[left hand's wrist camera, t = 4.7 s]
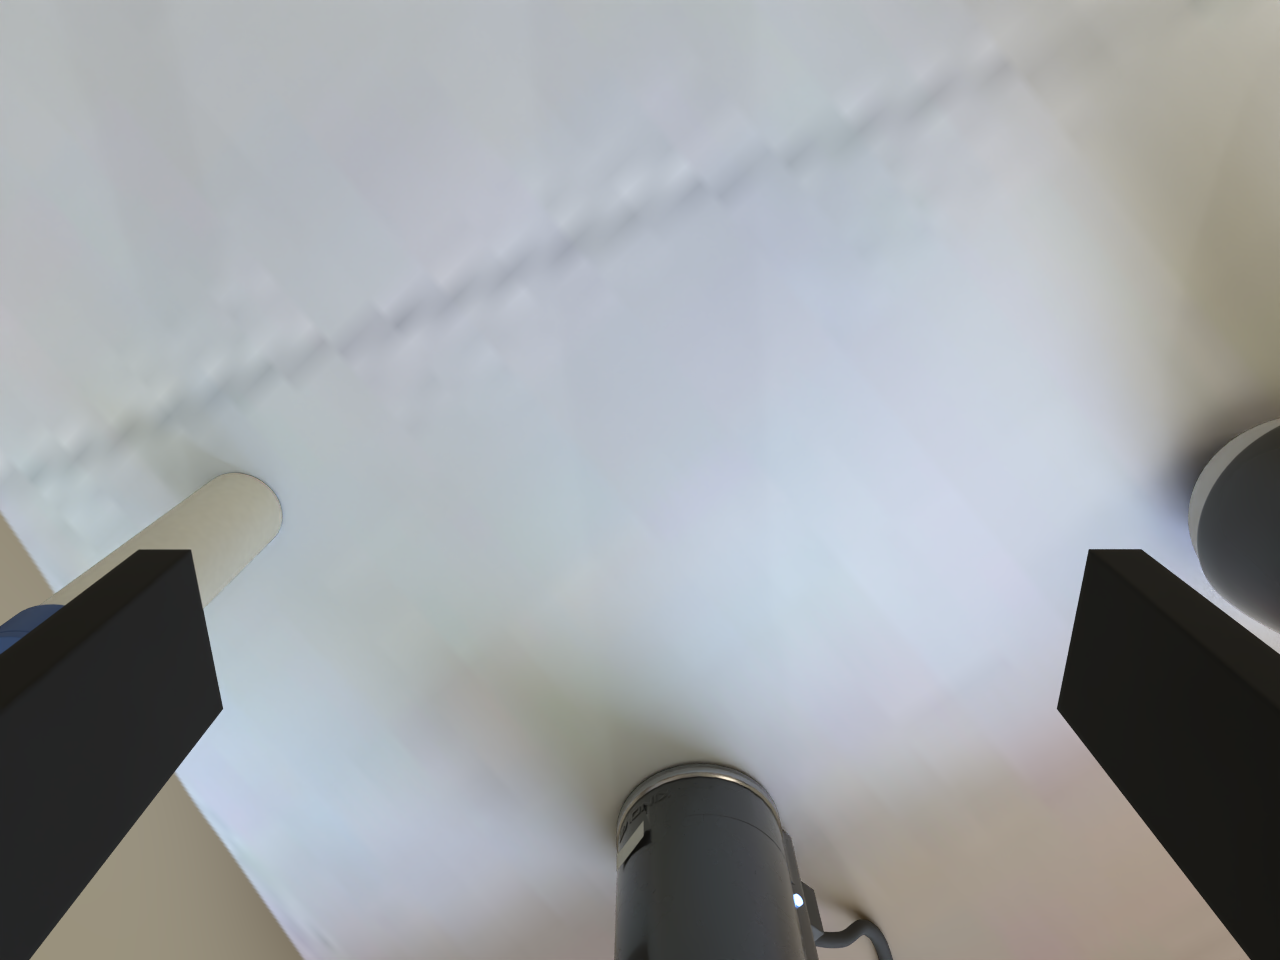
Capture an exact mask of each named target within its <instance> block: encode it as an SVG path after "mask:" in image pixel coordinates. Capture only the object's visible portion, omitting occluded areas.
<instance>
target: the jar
mask: <svg viewBox="0 0 1280 960" xmlns="http://www.w3.org/2000/svg"><path fill="white" fill-rule="evenodd" d="M281 524H282V510H281V506H280V503H279V501H278V499H277V497H276V495H275V494H274V492H273V491H272V490H271V489H270V488H269V487H268V486H267V485H266V484H265V483H263V482H262V481H260V480H259V479H257V478H255V477H252V476H249V475H246V474H241V473H228V474H223V475H220V476H218V477H216V478H214V479H213V480H211V481H210V482H208V483H207V484H206V485H204V486H203V487H202V488H200V489H199V490H197V491H196V492H195V493H193V494H192V495H190V496H189V497H188V498H186V499H185V500H184V501H182V502H181V503H179V504H178V505H177V506H175V507H174V508H173V509H171V510H170V511H168V512H167V513H166V514H164V515H163V516H162V517H160V518H159V519H157V520H156V521H155V522H153V523H152V524H151V525H149V526H148V527H146V528H145V529H144V530H142V531H141V532H140V533H138V534H137V535H135V536H134V537H133V538H131V539H130V540H129V541H127V542H126V543H124V544H123V545H122V546H120V547H119V548H117V549H116V550H115V551H113V552H112V553H111V554H109V555H108V556H106V557H105V558H104V559H102V560H101V561H100V562H98V563H97V564H95V565H94V566H93V567H91V568H90V569H89V570H87V571H86V572H84V573H83V574H82V575H80V576H79V577H78V578H76V579H75V580H73V581H72V582H71V583H69V584H68V585H67V586H65V587H64V588H62V589H61V590H60V591H58V592H57V593H55V594H54V595H53V596H51V597H50V598H49V599H47V600H46V601H44V602H43V603H42V604H40V605H45V604H58V605H66V604H67V603H69V602H70V601H71V600H73V599H74V598H75V597H77V596H78V595H79V594H81V593H82V592H83V591H84V590H86V589H87V588H88V587H90V586H91V585H92V584H94V583H95V582H96V581H98V580H99V579H100V578H102V577H103V576H104V575H106V574H107V573H108V572H110V571H111V570H112V569H113V568H115V567H116V566H117V565H119V564H120V563H121V562H123V561H124V560H125V559H127V558H128V557H129V556H131V555H132V554H133V553H135V552H136V551H137V550H139V549H191V551H192V556H193V561H194V566H195V571H196V576H197V581H198V586H199V591H200V596H201V601H202V606H203V609H204V608H205V607H206V606H207V605H208V604H209V603H210V602H211V601H212V600H213V599H214V598H215V597H216V596H217V595H218V594H219V593H220V592H221V591H222V590H223V589H224V588H225V587H226V586H227V585H228V584H229V583H230V582H231V581H232V580H233V579H234V578H235V577H236V576H237V575H238V574H239V573H240V572H241V571H242V570H243V569H244V568H245V567H246V566H247V565H248V564H249V563H250V562H251V561H252V560H253V559H254V558H255V557H256V556H257V555H258V554H259V553H260V552H261V551H262V550H263V549H264V548H265V547H266V546H267V545H268V544H269V543H270V542H271V541H272V540H273V539H274V537H275V536H276V535H277V533H278V532H279V530H280V527H281Z"/></svg>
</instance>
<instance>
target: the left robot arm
mask: <svg viewBox="0 0 1280 960" xmlns="http://www.w3.org/2000/svg"><path fill="white" fill-rule="evenodd" d="M222 710H223V706H222V701H221V696H220V691H219V686H218V681H217V676H216V671H215V666H214V661H213V656H212V651H211V646H210V641H209V636H208V631H207V626H206V621H205V616H204V611H203V606H202V601H201V596H200V591H199V586H198V581H197V576H196V571H195V566H194V561H193V556H192V551H191V549H139V550H137V551H136V552H135V553H133V554H132V555H131V556H129V557H128V558H127V559H125V560H124V561H123V562H121V563H120V564H119V565H117V566H116V567H115V568H113V569H112V570H111V571H110V572H108V573H107V574H106V575H104V576H103V577H102V578H100V579H99V580H98V581H96V582H95V583H94V584H92V585H91V586H90V587H88V588H87V589H86V590H84V591H83V592H82V593H81V594H79V595H78V596H77V597H75V598H74V599H73V600H71V601H70V602H69V603H67V604H66V605H65V606H63V607H62V608H61V609H59V610H58V611H57V612H55V613H54V614H53V615H52V616H50V617H49V618H48V619H46V620H45V621H44V622H42V623H41V624H40V625H38V626H37V627H36V628H34V629H33V630H32V631H30V632H29V633H28V634H26V635H25V636H24V637H23V638H21V639H20V640H19V641H17V642H16V643H15V644H13V645H12V646H11V647H9V648H8V649H7V650H5V651H4V652H3V653H1V654H0V960H29V959H30V958H31V957H32V956H33V954H34V953H35V952H36V950H37V949H38V948H39V946H40V945H41V944H42V942H43V941H44V940H45V939H46V937H47V936H48V935H49V934H50V932H51V931H52V930H53V928H54V927H55V926H56V924H57V923H58V922H59V921H60V919H61V918H62V917H63V915H64V914H65V913H66V912H67V910H68V909H69V908H70V906H71V905H72V904H73V902H74V901H75V900H76V899H77V897H78V896H79V895H80V893H81V892H82V891H83V889H84V888H85V887H86V886H87V884H88V883H89V882H90V880H91V879H92V878H93V877H94V875H95V874H96V873H97V871H98V870H99V869H100V868H101V866H102V865H103V864H104V862H105V861H106V860H107V858H108V857H109V856H110V855H111V853H112V852H113V851H114V849H115V848H116V847H117V846H118V844H119V843H120V842H121V840H122V839H123V838H124V836H125V835H126V834H127V833H128V831H129V830H130V829H131V827H132V826H133V825H134V823H135V822H136V821H137V820H138V818H139V817H140V816H141V814H142V813H143V812H144V811H145V809H146V808H147V807H148V805H149V804H150V803H151V801H152V800H153V799H154V798H155V796H156V795H157V794H158V792H159V791H160V790H161V789H162V787H163V786H164V785H165V783H166V782H167V781H168V779H169V778H170V777H171V776H172V774H173V773H174V772H175V770H176V769H177V768H178V767H179V765H180V764H181V763H182V761H183V760H184V759H185V757H186V756H187V755H188V754H189V752H190V751H191V750H192V748H193V747H194V746H195V745H196V743H197V742H198V741H199V739H200V738H201V737H202V735H203V734H204V733H205V732H206V730H207V729H208V728H209V726H210V725H211V724H212V723H213V721H214V720H215V719H216V717H217V716H218V715H219V713H220V712H221V711H222ZM1057 710H1058V711H1059V712H1060V713H1061V715H1062V716H1063V717H1064V719H1065V720H1066V721H1067V723H1068V724H1069V725H1070V726H1071V728H1072V729H1073V730H1074V732H1075V733H1076V734H1077V735H1078V737H1079V738H1080V739H1081V741H1082V742H1083V743H1084V745H1085V746H1086V747H1087V748H1088V750H1089V751H1090V752H1091V754H1092V755H1093V756H1094V757H1095V759H1096V760H1097V761H1098V763H1099V764H1100V765H1101V767H1102V768H1103V769H1104V770H1105V772H1106V773H1107V774H1108V776H1109V777H1110V778H1111V779H1112V781H1113V782H1114V783H1115V785H1116V786H1117V787H1118V789H1119V790H1120V791H1121V792H1122V794H1123V795H1124V796H1125V798H1126V799H1127V800H1128V802H1129V803H1130V804H1131V805H1132V807H1133V808H1134V809H1135V811H1136V812H1137V813H1138V814H1139V816H1140V817H1141V818H1142V820H1143V821H1144V822H1145V824H1146V825H1147V826H1148V827H1149V829H1150V830H1151V831H1152V833H1153V834H1154V835H1155V836H1156V838H1157V839H1158V840H1159V842H1160V843H1161V844H1162V846H1163V847H1164V848H1165V849H1166V851H1167V852H1168V853H1169V855H1170V856H1171V857H1172V858H1173V860H1174V861H1175V862H1176V864H1177V865H1178V866H1179V868H1180V869H1181V870H1182V871H1183V873H1184V874H1185V875H1186V877H1187V878H1188V879H1189V880H1190V882H1191V883H1192V884H1193V886H1194V887H1195V888H1196V890H1197V891H1198V892H1199V893H1200V895H1201V896H1202V897H1203V899H1204V900H1205V901H1206V902H1207V904H1208V905H1209V906H1210V908H1211V909H1212V910H1213V912H1214V913H1215V914H1216V915H1217V917H1218V918H1219V919H1220V921H1221V922H1222V923H1223V924H1224V926H1225V927H1226V928H1227V930H1228V931H1229V932H1230V934H1231V935H1232V936H1233V937H1234V939H1235V940H1236V941H1237V943H1238V944H1239V945H1240V946H1241V948H1242V949H1243V950H1244V952H1245V953H1246V954H1247V956H1248V957H1249V958H1250V959H1251V960H1280V654H1279V653H1277V652H1276V651H1275V650H1273V649H1272V648H1271V647H1269V646H1268V645H1267V644H1265V643H1264V642H1263V641H1261V640H1260V639H1259V638H1257V637H1256V636H1255V635H1254V634H1252V633H1251V632H1250V631H1248V630H1247V629H1246V628H1244V627H1243V626H1242V625H1240V624H1239V623H1238V622H1236V621H1235V620H1234V619H1232V618H1231V617H1230V616H1228V615H1227V614H1226V613H1225V612H1223V611H1222V610H1221V609H1219V608H1218V607H1217V606H1215V605H1214V604H1213V603H1211V602H1210V601H1209V600H1207V599H1206V598H1205V597H1203V596H1202V595H1201V594H1199V593H1198V592H1197V591H1196V590H1194V589H1193V588H1192V587H1190V586H1189V585H1188V584H1186V583H1185V582H1184V581H1182V580H1181V579H1180V578H1178V577H1177V576H1176V575H1174V574H1173V573H1172V572H1170V571H1169V570H1168V569H1167V568H1165V567H1164V566H1163V565H1161V564H1160V563H1159V562H1157V561H1156V560H1155V559H1153V558H1152V557H1151V556H1149V555H1148V554H1147V553H1145V552H1144V551H1143V550H1141V549H1089V551H1088V556H1087V561H1086V566H1085V571H1084V576H1083V581H1082V586H1081V591H1080V596H1079V601H1078V606H1077V611H1076V616H1075V621H1074V626H1073V631H1072V636H1071V641H1070V646H1069V651H1068V656H1067V661H1066V666H1065V671H1064V676H1063V681H1062V686H1061V691H1060V696H1059V701H1058V706H1057Z"/></svg>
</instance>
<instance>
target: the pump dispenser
mask: <svg viewBox="0 0 1280 960" xmlns="http://www.w3.org/2000/svg"><path fill="white" fill-rule="evenodd" d="M1188 525H1189V532H1190V537H1191V541H1192V544H1193V547H1194V549H1195V552H1196V554H1197V556H1198V558H1199V561H1200V564H1201V567H1202V570H1203V572H1204V574H1205V576H1206V578H1207V580H1208V582H1209V583H1210V584H1211V586H1212V587H1213V588H1214V590H1215V591H1216V592H1217V593H1218V594H1219V595H1220V596H1221V597H1222V598H1223V599H1225V600H1226V601H1227V602H1228V603H1230V604H1231V605H1232V606H1234V607H1235V608H1236V609H1238V610H1239V611H1241V612H1242V613H1244V614H1245V615H1247V616H1248V617H1250V618H1252V619H1253V620H1255V621H1257V622H1258V623H1260V624H1262V625H1264V626H1266V627H1268V628H1270V629H1272V630H1273V631H1275V632H1277V633H1279V634H1280V418H1278V419H1275V420H1272V421H1268V422H1266V423H1263V424H1260V425H1258V426H1256V427H1254V428H1252V429H1250V430H1248V431H1246V432H1244V433H1242V434H1240V435H1239V436H1237V437H1236V438H1234V439H1233V440H1231V441H1230V442H1229V443H1228V444H1226V445H1225V446H1224V447H1223V448H1222V449H1221V450H1220V451H1218V452H1217V453H1216V454H1215V456H1214V457H1213V458H1212V459H1211V460H1210V461H1209V462H1208V464H1207V465H1206V466H1205V468H1204V469H1203V471H1202V473H1201V474H1200V476H1199V478H1198V480H1197V482H1196V484H1195V487H1194V489H1193V492H1192V495H1191V499H1190V504H1189V512H1188Z"/></svg>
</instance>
